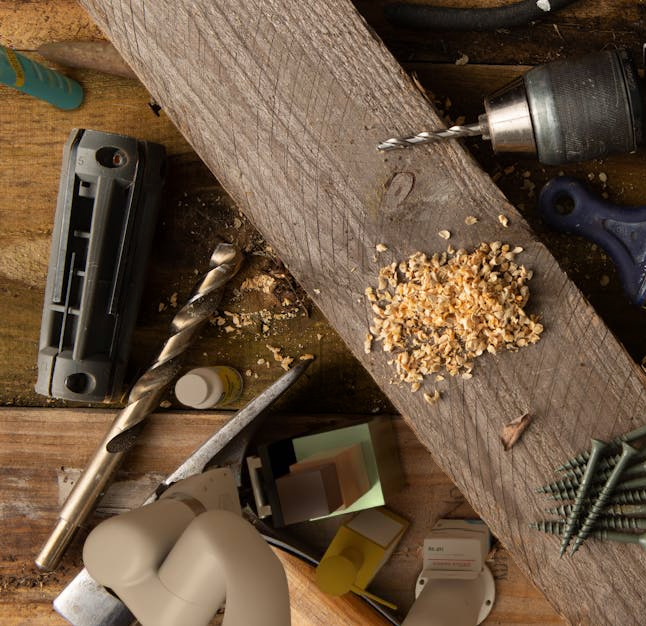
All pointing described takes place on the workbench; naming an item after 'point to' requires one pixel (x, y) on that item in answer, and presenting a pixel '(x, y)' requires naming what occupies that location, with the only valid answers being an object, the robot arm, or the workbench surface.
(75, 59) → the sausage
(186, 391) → the pill bottle
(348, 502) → the riser
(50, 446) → the workbench surface
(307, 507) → the block
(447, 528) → the ink box
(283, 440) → the oven door
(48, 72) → the tube
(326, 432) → the oven
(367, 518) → the soap bottle
